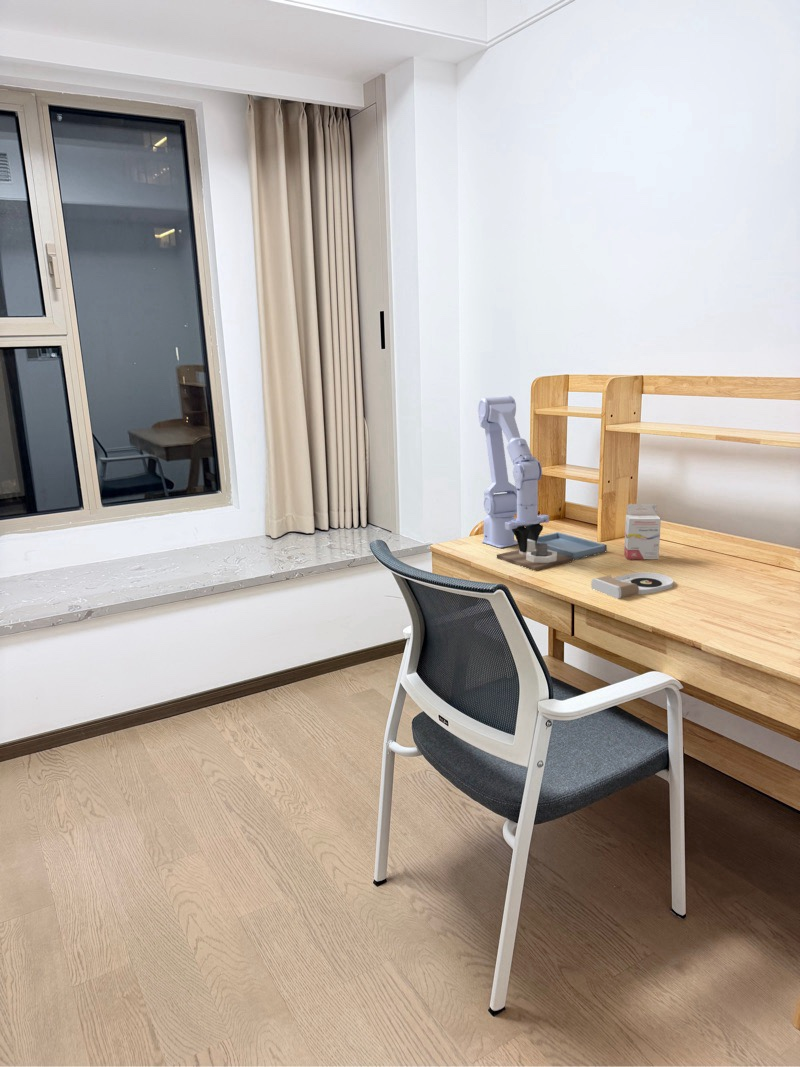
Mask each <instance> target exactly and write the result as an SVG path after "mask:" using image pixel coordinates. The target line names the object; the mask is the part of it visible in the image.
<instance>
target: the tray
mask: <svg viewBox="0 0 800 1067" xmlns="http://www.w3.org/2000/svg"><path fill="white" fill-rule="evenodd" d="M538 543H545V544H547V550H552V551H555V552H557V553H558V554H562V555H565V556H568V557H572V558H573V561H575V560H579V559H583V558H587V557H591V556H590V555H592V556H595V555H594V554H596V555H599V554H598V553H600V554H603V553H602V552H604V553H606V552H605V551H607V550H608V547H607V546H608V545H607V544H604V543H600V542H597V541H593V540H588V539H585V538H581V537H579V536H578V537H577V536H574V535H571V534H566V533H562V532H560V531H556V532H552V533H547V534H543V535H539V537H538V539H537V543H536V544H538ZM535 547H536V546H535ZM607 552H608V551H607ZM586 556H587V557H586ZM582 557H583V558H582Z"/></svg>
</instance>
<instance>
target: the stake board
mask: <svg viewBox="0 0 800 1067" xmlns="http://www.w3.org/2000/svg"><path fill="white" fill-rule="evenodd" d="M535 549H536V556H547V544H545V543H538V544H536V547H535ZM496 559H499V560H502V561H504V562H507V563H510V564H512V565H516V564H517V565H516V566H518V565H520V566H519V567H521V566H523V567H522V568H524V567H526V568H525V569H527V568H529V569H528V570H530V569H532V570H531V571H533V570H536V571H539V570H538V569H540V570H543V569H542V568H545V569H548V567H549V568H551V567H552V566H553V567H556V565H557V566H559V565H564V564H568V562H569V563H572V561H573V562H574V560H573V558H572V557H568V556H565V555H562V554H558V553H557V561H553V562H549V563H534V562H531V561H528V560H526V555H523V554H520V553H519V549H515V550H511V551H507V552H503V553H498V554H496Z"/></svg>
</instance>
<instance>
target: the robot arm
mask: <svg viewBox="0 0 800 1067" xmlns="http://www.w3.org/2000/svg"><path fill="white" fill-rule="evenodd" d="M515 400H516V399H515V398H514V397H513V396H512V395H508V396H497V397H481V399H480V400H479V403H478V406H477V412H478V421H479V426H480V427H481V428H482V429H484V433H485V439H486V440H485V441H486V447H487V448H486V449H487V456H488V462H489V470H490V479H491V480H490V481H491V484H489V486H488V487H487V488H486V489H485V491H484V492H483V498H484V499H483V508H484V511H485V513H486V515H485V517H484V518H483V519H484V520H483V539H482V540H481V542H482V543H484V544H487V545H490V546H493V547H497V548H499V549H502V548H503V549H504V548H507V547H511V546H517V545H518V550H519V549H520V551H521V552H526V551H527V539H530V540H533V541H535V546H536V543H537V539H538V537H539V536H541V535H540V534H541V533H542V531H543V529H544V525H542V523H543V524H544V523H550V515H547V514H539V515H538V512H539V511H538V504H539V503H538V498H539V496H538V495H539V492H538V489H539V486H538V483H539V481H540V480H541V479H542V478H541V477H542V475H543V470H542V464H541V462H540V461H539V460H538V459H537V458H536V457H535V456H533V455H532V452H531V450H530V448H529V447H530V446H529V445H528V442H527V440H526V439H525V438H522V437H521V435H520V431H519V428H518V426H517V422H516V421H517V420H516V418H515V417H516V412H517V403H516V401H515ZM503 434H504V435H503ZM503 436H505V437H506V441H507V442H508V444H507V446H506V450H507V453H508V455H509V457H510V459H511V462H512V466H513V467H512V469H513V470H512V475H513V479H514V484H513V483H511V482H510V481H509V475H508V468H507V461H506V452H505V445H504V438H503ZM515 516H516V518H515Z"/></svg>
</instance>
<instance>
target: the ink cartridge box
mask: <svg viewBox="0 0 800 1067" xmlns="http://www.w3.org/2000/svg"><path fill="white" fill-rule="evenodd" d="M642 508H643V509H646V510H642ZM638 509H640V510H638ZM657 510H658V505H657V504H656V503H654V504H651V503H646V504H644V503H643V504H642V503H640V504H639V503H635V504H634V503H633V504H630V503H629V504H627V505H626V515H625V524H624V530H625V531H624V549H623V550H624V551H623V555H624V556H625V558H626V559H627V560H631V559H658V560H659V555H660V541H661V540H660V538H661V523H662V521H661V518H660V516H658V514H657Z"/></svg>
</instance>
